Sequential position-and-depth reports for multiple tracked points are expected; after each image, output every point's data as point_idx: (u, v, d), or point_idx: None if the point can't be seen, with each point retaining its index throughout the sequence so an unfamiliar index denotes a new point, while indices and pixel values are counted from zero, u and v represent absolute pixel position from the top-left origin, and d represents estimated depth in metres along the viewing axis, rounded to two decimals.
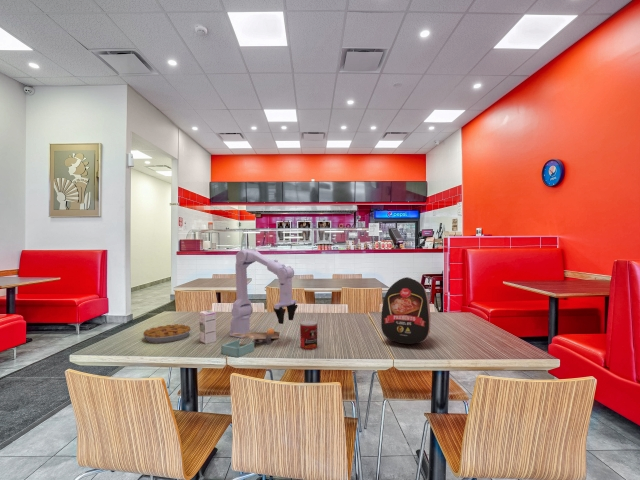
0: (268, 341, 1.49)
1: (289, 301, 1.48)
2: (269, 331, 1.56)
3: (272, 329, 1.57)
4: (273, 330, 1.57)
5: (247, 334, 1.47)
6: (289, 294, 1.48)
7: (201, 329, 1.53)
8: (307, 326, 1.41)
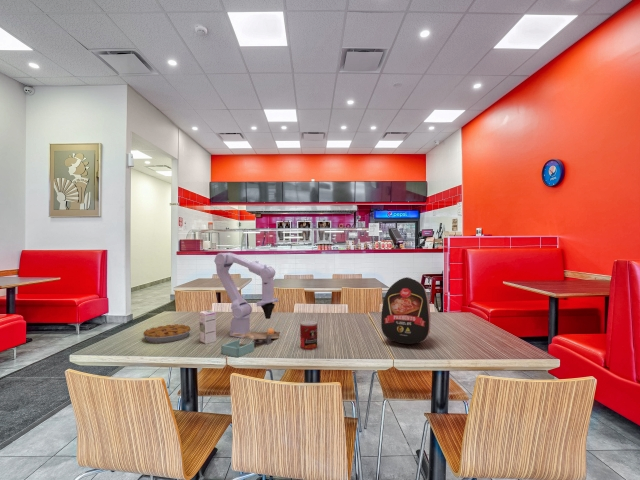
0: (268, 341, 1.49)
1: (271, 299, 1.58)
2: (269, 331, 1.56)
3: (272, 329, 1.57)
4: (273, 330, 1.57)
5: (247, 334, 1.47)
6: (271, 292, 1.59)
7: (201, 329, 1.53)
8: (307, 326, 1.41)
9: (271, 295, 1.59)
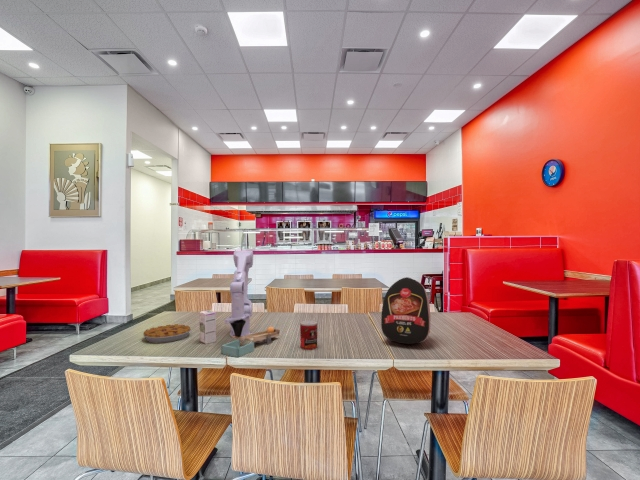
0: (268, 341, 1.49)
1: (240, 316, 1.48)
2: (269, 330, 1.56)
3: (271, 328, 1.56)
4: (273, 328, 1.57)
5: (247, 336, 1.47)
6: (240, 309, 1.48)
7: (201, 329, 1.53)
8: (307, 326, 1.41)
9: (241, 311, 1.48)
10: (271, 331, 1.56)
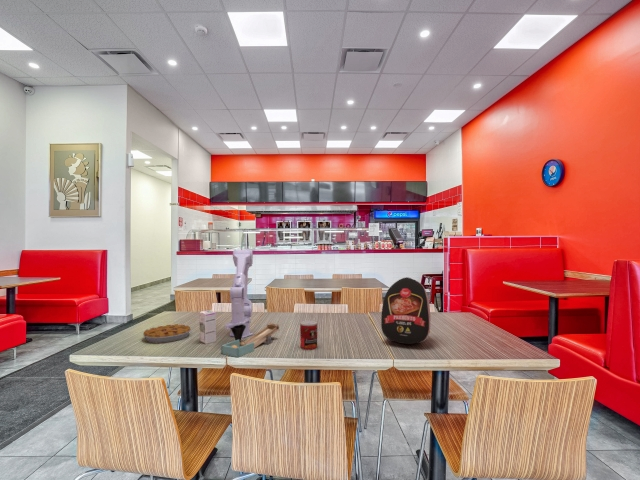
0: (268, 341, 1.49)
1: (240, 321, 1.47)
2: None
3: None
4: None
5: (246, 342, 1.46)
6: (241, 314, 1.48)
7: (201, 329, 1.53)
8: (307, 326, 1.41)
9: (241, 316, 1.48)
10: None
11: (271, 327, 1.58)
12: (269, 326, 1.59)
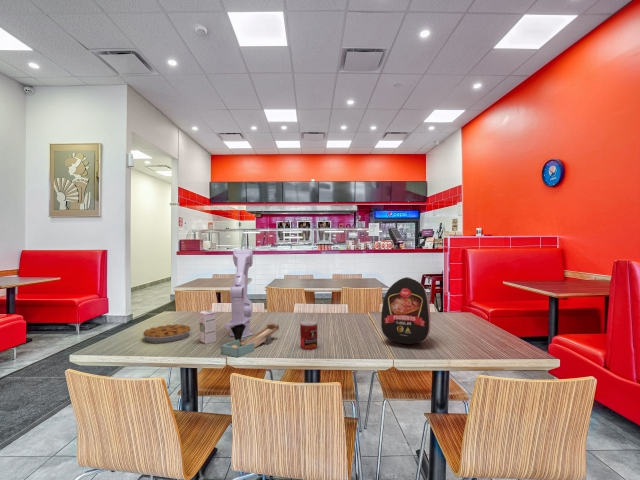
0: (268, 341, 1.49)
1: (240, 320, 1.48)
2: None
3: None
4: None
5: (246, 342, 1.46)
6: (241, 313, 1.48)
7: (201, 329, 1.53)
8: (307, 326, 1.41)
9: (241, 316, 1.48)
10: None
11: (271, 327, 1.58)
12: (269, 326, 1.59)
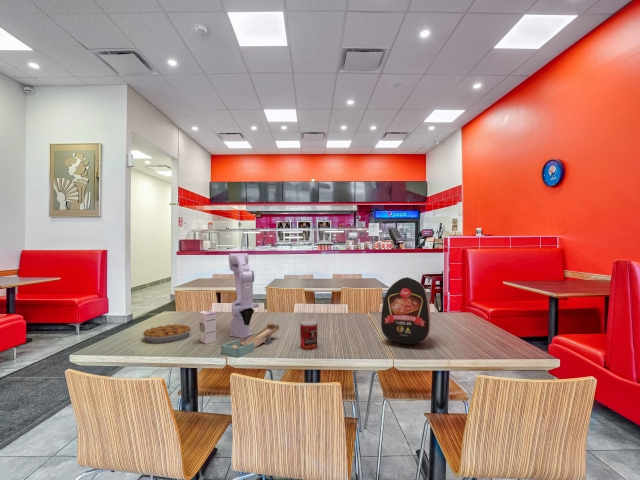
0: (268, 341, 1.49)
1: (249, 304, 1.51)
2: None
3: None
4: None
5: (246, 342, 1.46)
6: (249, 298, 1.51)
7: (201, 329, 1.53)
8: (307, 326, 1.41)
9: (250, 300, 1.51)
10: None
11: (271, 327, 1.58)
12: (269, 326, 1.59)
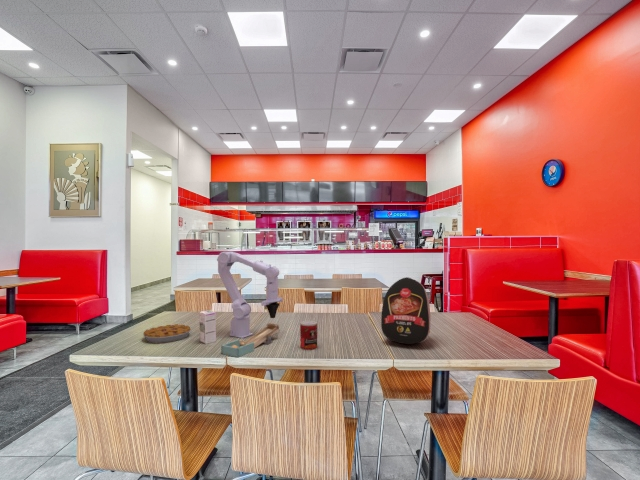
0: (268, 341, 1.49)
1: (275, 298, 1.60)
2: None
3: None
4: None
5: (246, 342, 1.46)
6: (275, 292, 1.60)
7: (201, 329, 1.53)
8: (307, 326, 1.41)
9: (276, 294, 1.60)
10: None
11: (271, 327, 1.58)
12: (269, 326, 1.59)
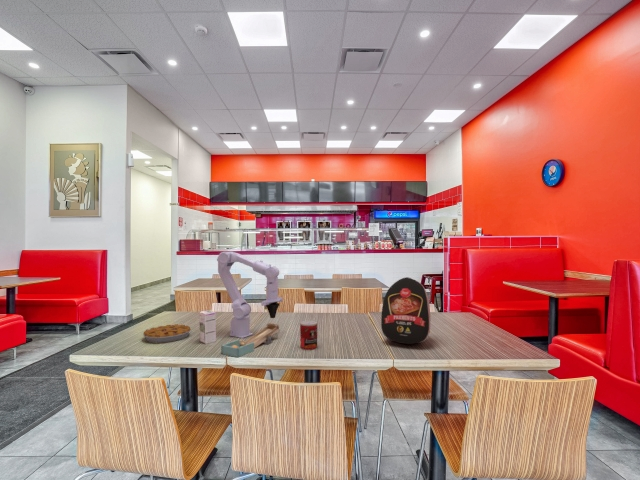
0: (268, 341, 1.49)
1: (275, 298, 1.60)
2: None
3: None
4: None
5: (246, 342, 1.46)
6: (275, 292, 1.60)
7: (201, 329, 1.53)
8: (307, 326, 1.41)
9: (276, 294, 1.60)
10: None
11: (271, 327, 1.58)
12: (269, 326, 1.59)
